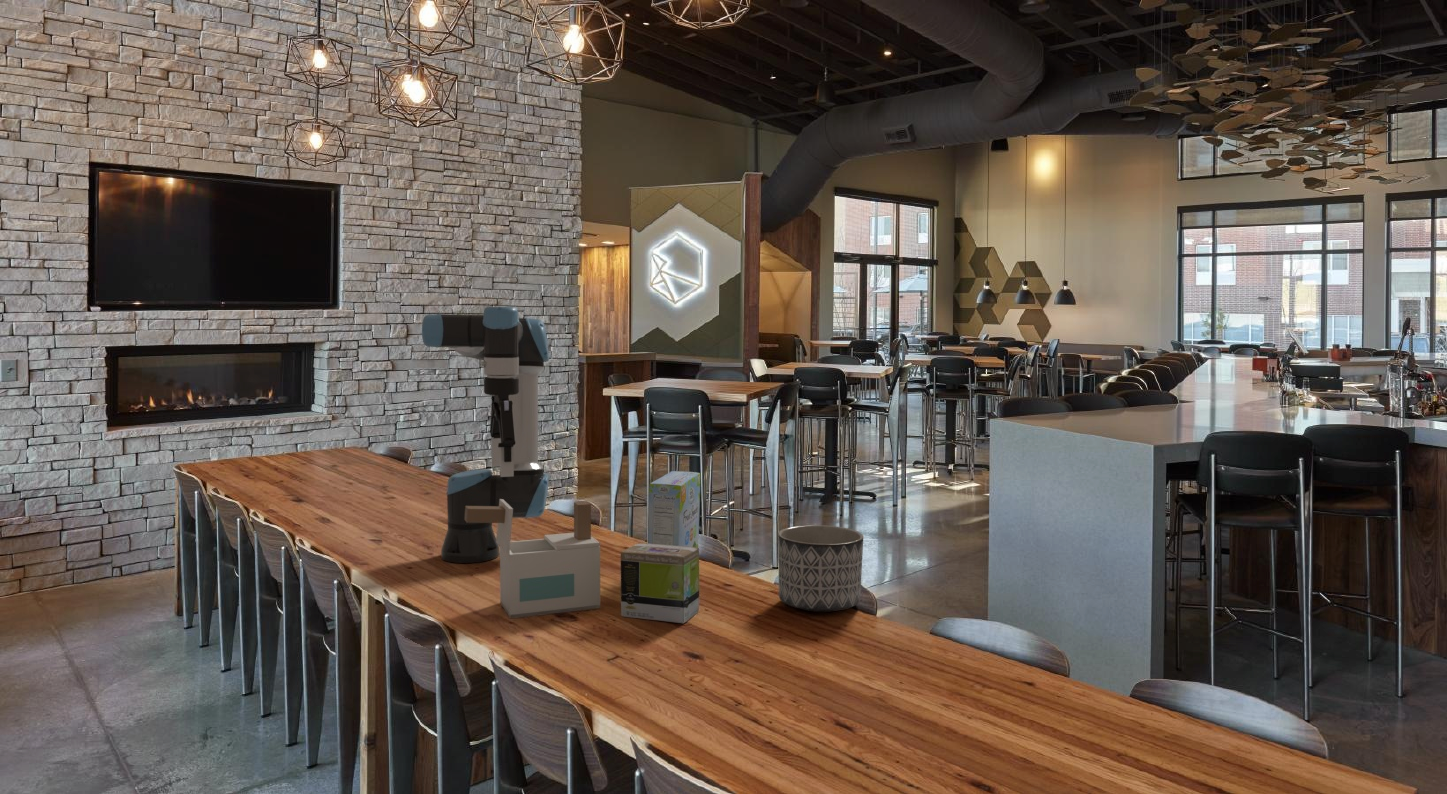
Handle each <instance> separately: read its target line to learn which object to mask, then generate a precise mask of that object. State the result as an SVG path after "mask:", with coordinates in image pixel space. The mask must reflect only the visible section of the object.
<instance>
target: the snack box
mask: <svg viewBox="0 0 1447 794" xmlns="http://www.w3.org/2000/svg"><path fill="white" fill-rule="evenodd" d="M648 490H649V492H648V493H649V494H648V519H647V520H648V525H647V526H648V527H647V544H661V545H673V546H686V547H698V548H699V534H700V532H699V531H700V508H701V507H700V504H701V503H700V502H701V498H700V497H701V493H700V492H701V473H700V472H696V471H694V472H693V471H682V470H680V471H679V470H671V471H669V472H668V473H666V474H665V475H662V476H661V477H660V478H657V479H656V480H654V481H652V482H650V483H649V488H648Z"/></svg>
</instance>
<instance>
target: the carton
mask: <svg viewBox="0 0 1447 794" xmlns="http://www.w3.org/2000/svg"><path fill="white" fill-rule="evenodd" d="M591 523H592V504H591V503H590V502H589V501H586V500H585V501H573V532H567V533H555V534H544V538H537V539H525V540H513V541H512V540H510V553H509V554H505V553H504V551H503V550H502V549H501V548H500V547H499V573H500V574H499V583H500V584H499V589H500V593H499V594H500V595H499V596H500V597H499V598H500V599H499V601H500V605H501V607H502V608H503V609H504V611H505V612H506V614H507V615H508V617H509V619H511V620H512V619H518V618H528V617H535V616H543V615H544V616H545V615H552V614H561V613H570V612H579V611H589V610H598V609H601V543H600V542H599V541H598V540H597V539H596V538H595V537H593V536H592V524H591Z"/></svg>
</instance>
